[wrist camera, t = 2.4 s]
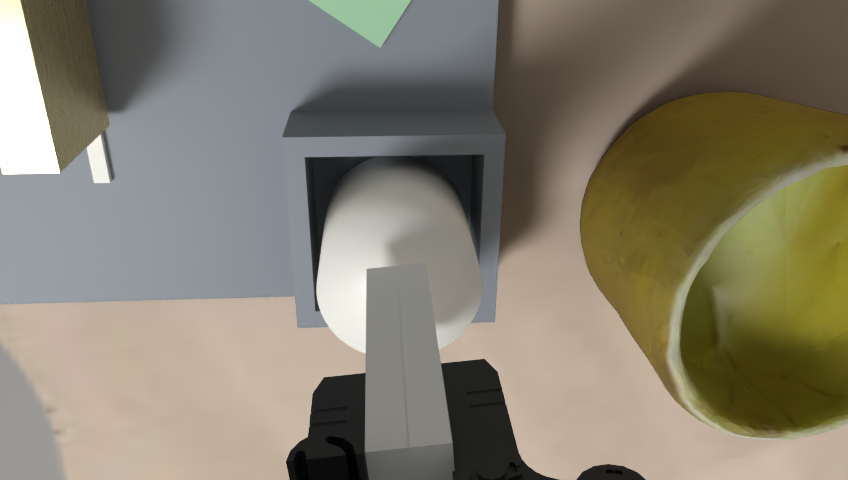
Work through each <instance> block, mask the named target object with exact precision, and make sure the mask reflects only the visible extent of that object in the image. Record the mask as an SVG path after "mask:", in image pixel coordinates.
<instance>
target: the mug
mask: <svg viewBox="0 0 848 480" xmlns="http://www.w3.org/2000/svg"><path fill="white" fill-rule="evenodd" d="M580 233H581V243H582V248H583V252H584V256H585V260H586V264H587V267H588V269H589V272H590V274H591V276H592V278H593V279H594V281H595V283H596V285H597V286H598V288H599V290H600V291H601V292H602V293H603V295H604V296H605V297H606V299H607V300H608V301H609V302H610V304H611V305H612V306H613V307H614V309H615V310H616V311H617V312H618V314H619V316H620V318H621V319H622V321H623V322H624V324H625V326H626V327H627V329H628V330H629V332H630V334H631V335H632V337H633V338H634V340H635V341H636V343H637V344H638V345H639V347H640V348H641V350H642V351H643V353H644V354H645V356H646V357H647V358H648V360H649V362H650V363H651V365H652V366H653V368H654V370H655V371H656V373H657V374H658V376H659V378H660V379H661V381H662V383H663V384H664V386H665V388H666V389H667V391H668V392H669V393H670V395H671V396H672V397H673V398H674V400H675V401H676V402H677V403H678V404H680V405H681V406H682V407H683V408H684V409H685V410H686V411H687V412H689V413H690V414H691V415H693V416H694V417H695V418H697V419H698V420H700V421H702V422H703V423H705V424H707V425H709V426H711V427H713V428H715V429H718V430H721V431H723V432H726V433H728V434H732V435H736V436H741V437H746V438H752V439H780V440H791V439H798V438H803V437H808V436H813V435H817V434H821V433H824V432H827V431H831V430H834V429H837V428H839V427H841V426H843V425H846V424H848V115H846V114H840V113H835V112H830V111H825V110H820V109H816V108H812V107H808V106H804V105H800V104H796V103H792V102H787V101H782V100H779V99H775V98H771V97H766V96H761V95H757V94H752V93H746V92H734V91H731V92H713V93H702V94H697V95H693V96H689V97H684V98H680V99H677V100H674V101H671V102H669V103H666V104H664V105H662V106H660V107H659V108H657V109H655V110H653V111H652V112H650V113H648V114H646V115H645V116H643V117H642V118H640V119H639V120H637V121H636V122H634V123H633V124H632V125H631V126H630V127H629V128H628V129H627V130H626V131H625V132H624V133H623V134H622V135H621V136H620V137H619V138H618V139H617V140H616V141H615V142H614V143H613V144H612V146H611V147H610V148H609V150H608V151H607V152H606V154H605V155H604V156H603V158H602V159H601V161H600V162H599V164H598V165H597V167H596V169H595V170H594V172H593V174H592V175H591V177H590V179H589V182H588V185H587V188H586V191H585V194H584V198H583V201H582V207H581V217H580Z"/></svg>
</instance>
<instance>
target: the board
mask: <svg viewBox="0 0 848 480" xmlns="http://www.w3.org/2000/svg"><path fill="white" fill-rule="evenodd" d="M86 3H87V8H88V13H89V18H90V24H91V29H92V34H93V39H94V45H95V50H96V55H97V60H98V65H99V71H100V76H101V81H102V86H103V92H104V97H105V102H106V107H107V112H108V118H109V123H110V126H109V127H108V128H107V129H105V130H104V131H103V132H102V133H101V134H100V135H99V136H98V137H97V138H96V139H95V140H94V141H93V142H92V143H91V144H90V145H89V146H88V147H87V148H86V149H85V150H84V151H82V152H81V153H80V154H79V155H78V156H77V157H76V158H75V159H74V160H73V161H72V162H71V163H70V164H69V165H68V166H67V167H66V168H65V169H64V170H63V171H62V172H61V173H35V174H3V172H2V168H1V164H0V304H31V303H67V302H104V301H141V300H177V299H214V298H251V297H287V296H295V302H296V314H297V326H298V328H312V327H329V326H328V325H327V323H326V322H325V320H324V318H323V316H322V314H321V312H320V308H319V305H318V301H317V294H316V290H317V277H318V269H319V261H320V254H321V246H322V238H323V231H324V223H325V216H326V209H327V204H328V200H329V197H330V195H331V193H332V191H333V189H334V187H335V186H336V184H337V183H338V181H339V180H340V179H341V178H342V177H343V176H344V175H345V174H346V173H347V172H348V171H349V170H351V169H352V168H353V167H355V166H357V165H358V164H360V163H362V162H364V161H366V160H369V159H372V158H375V157H379V156H412V157H416V158H419V159H422V160H424V161H426V162H429V163H431V164H432V165H434V166H435V167H437V168H438V169H440V170H441V171H442V172H443V173H444V174H445V175H446V176H447V177H448V178H449V179H450V180H451V182H452V183H453V185H454V186H455V188H456V190H457V192H458V194H459V196H460V199H461V202H462V206H463V209H464V213H465V216H466V220H467V223H468V227H469V231H470V234H471V238H472V241H473V245H474V248H475V252H476V255H477V259H478V263H479V266H480V270H481V275H482V286H483V290H482V298H481V302H480V305H479V308H478V310H477V313H476V315H475V317H474V319H473V320H472V322H471V323H479V322H495V310H496V294H497V277H498V261H499V244H500V227H501V211H502V194H503V178H504V161H505V145H506V133H505V131H504V129H503V128H502V126H501V124H500V122H499V120H498V118H497V116H496V114H495V112H494V111H493V100H494V81H495V61H496V42H497V23H498V3H499V0H86Z"/></svg>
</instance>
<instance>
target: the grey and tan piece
mask: <svg viewBox="0 0 848 480" xmlns="http://www.w3.org/2000/svg"><path fill="white" fill-rule="evenodd" d="M109 126H110V123H109V118H108V112H107V107H106V102H105V97H104V92H103V86H102V81H101V76H100V71H99V65H98V60H97V55H96V50H95V45H94V39H93V34H92V29H91V24H90V18H89V13H88V8H87V3H86V0H0V164H1V168H2V172H3V174H35V173H61V172H62V171H63V170H64V169H65V168H66V167H67V166H68V165H69V164H70V163H71V162H72V161H73V160H74V159H75V158H76V157H77V156H78V155H79V154H80V153H81V152H82V151H84V150H85V149H86V148H87V147H88V146H89V145H90V144H91V143H92V142H93V141H94V140H95V139H96V138H97V137H98V136H99V135H100V134H101V133H102V132H103V131H104V130H105V129H107V128H108V127H109Z"/></svg>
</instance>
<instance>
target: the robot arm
mask: <svg viewBox="0 0 848 480" xmlns="http://www.w3.org/2000/svg"><path fill="white" fill-rule="evenodd" d="M286 464H287V468H288V473H289V478H290V480H558V479H554V478H549V477H546V476H543V475H541V474H539V473H537V472H535V471H534V470H532V469H531V468H529V467H528V466H527V465H526V464H525V463H524V461H523V460H522V459H521V457H520V454H519V452H518V449H517V445H516V441H515V437H514V433H513V430H512V426H511V422H510V418H509V414H508V410H507V407H506V404H505V399H504V395H503V392H502V387H501V384H500V380H499V376H498V372H497V371H496V370H495V369H494V368H493V367H492V366H491V365H490V364H489V363H488V362H487V361H486V360H485V359H480V360H470V361H461V362H451V363H442V364H441V361H440V354H439V348H438V341H437V334H436V327H435V320H434V314H433V307H432V300H431V293H430V286H429V280H428V273H427V266H426V263H418V264H409V265H399V266H389V267H379V268H369V269H367V273H366V373H362V374H353V375H343V376H334V377H324V378H323V380H322V381H321V383H320V384H319V386H318V387H317V388H316V390H315V391H314V393H313V397H312V406H311V415H310V428H309V433H308V438H306V439H304V440H302V441H300V442H299V443H298V444H297V445H296V446H295V447H294V448H293V449H292V450H291V451H290V453H289V456H288V458H287V461H286ZM577 480H645V479H644V478H643V477H642V476H641V475H640V474H638V473H637V472H635V471H633V470H631V469H628V468H626V467H624V466H617V465H610V464H606V465H599V466H594V467H592V468H590V469H588V470H586V471H584V472H582V473H581V475H580V476H579V477H578V479H577Z"/></svg>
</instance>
